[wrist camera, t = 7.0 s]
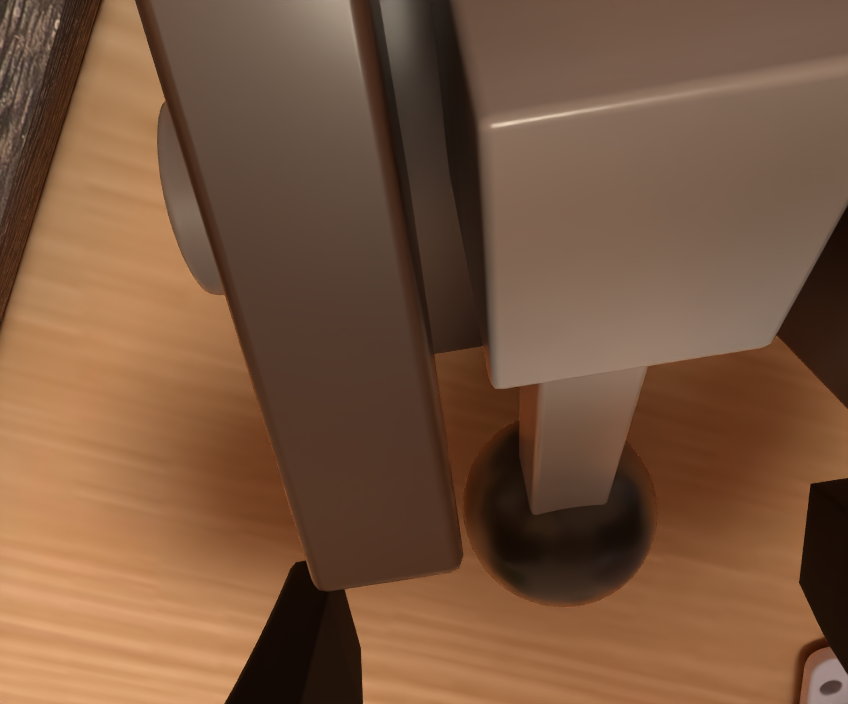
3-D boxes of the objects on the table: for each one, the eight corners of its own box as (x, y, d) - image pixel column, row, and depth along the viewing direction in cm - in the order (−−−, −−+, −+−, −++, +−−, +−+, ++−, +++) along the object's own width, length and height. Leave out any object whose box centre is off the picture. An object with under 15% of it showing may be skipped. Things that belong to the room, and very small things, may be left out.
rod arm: (617, 444, 14) (663, 610, 13) (456, 469, 14) (482, 637, 13) (811, -237, 5) (1065, 78, 4) (348, -157, 5) (399, 186, 4)
